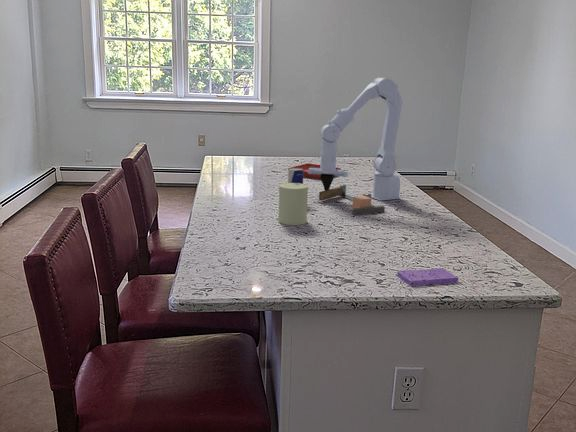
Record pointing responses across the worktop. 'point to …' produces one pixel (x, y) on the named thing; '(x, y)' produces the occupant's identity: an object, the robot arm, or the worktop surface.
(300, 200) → the can
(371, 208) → the kerb
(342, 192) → the frame
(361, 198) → the block
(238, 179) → the worktop surface
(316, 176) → the plant saucer
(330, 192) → the brown long flat bar
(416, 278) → the sponges
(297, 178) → the energy drink
